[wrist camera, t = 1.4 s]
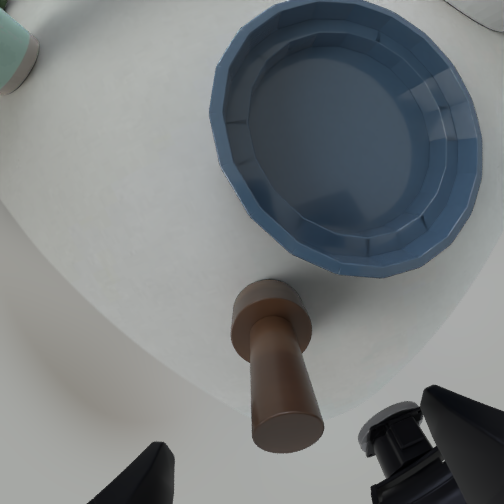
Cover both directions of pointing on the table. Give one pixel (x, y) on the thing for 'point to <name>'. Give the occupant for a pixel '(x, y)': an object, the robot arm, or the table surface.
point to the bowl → (347, 136)
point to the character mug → (3, 4)
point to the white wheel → (483, 12)
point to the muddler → (277, 366)
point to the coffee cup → (15, 53)
